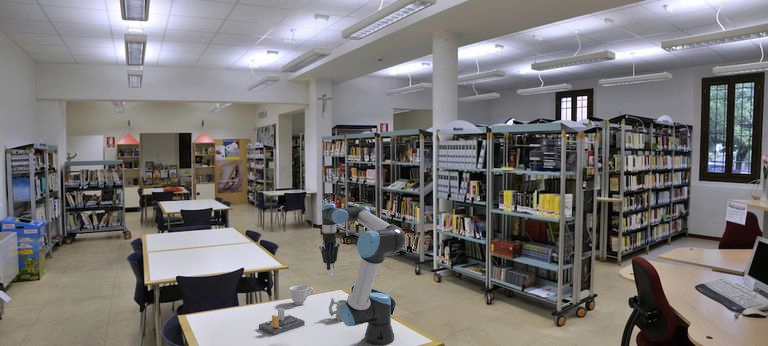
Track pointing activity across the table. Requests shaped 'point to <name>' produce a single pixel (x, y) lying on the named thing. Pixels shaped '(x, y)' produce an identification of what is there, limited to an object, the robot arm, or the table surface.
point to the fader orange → (275, 321)
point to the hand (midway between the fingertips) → (330, 275)
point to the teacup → (299, 293)
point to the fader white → (281, 313)
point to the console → (282, 325)
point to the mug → (336, 308)
